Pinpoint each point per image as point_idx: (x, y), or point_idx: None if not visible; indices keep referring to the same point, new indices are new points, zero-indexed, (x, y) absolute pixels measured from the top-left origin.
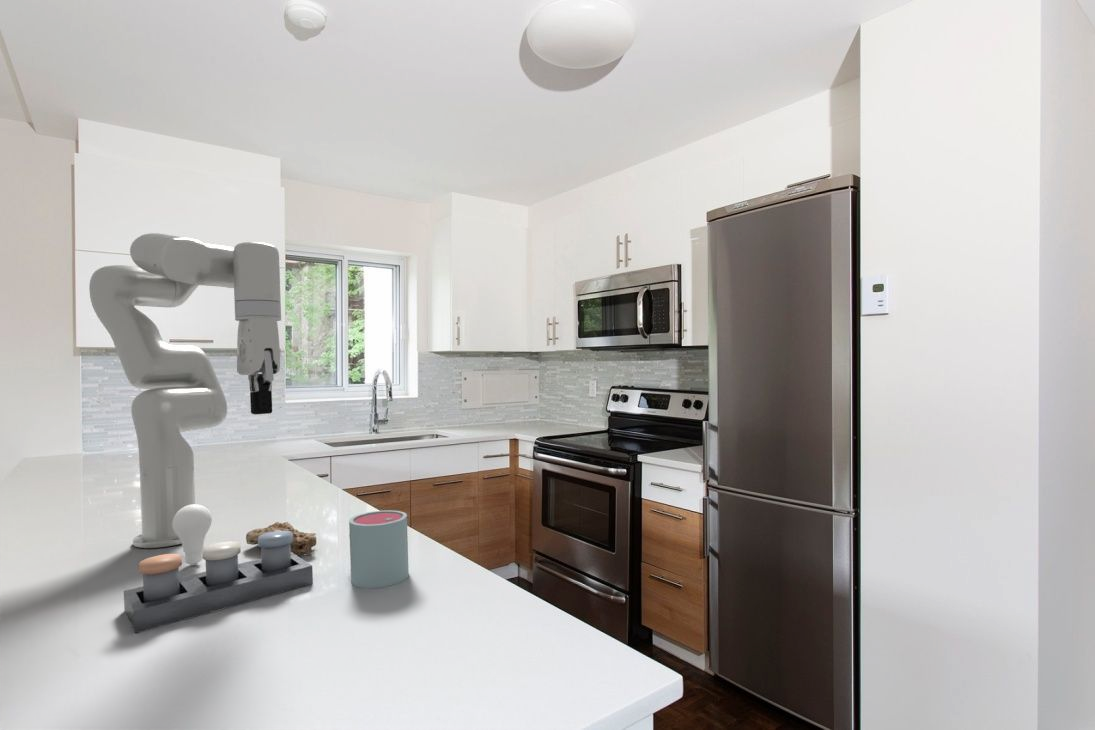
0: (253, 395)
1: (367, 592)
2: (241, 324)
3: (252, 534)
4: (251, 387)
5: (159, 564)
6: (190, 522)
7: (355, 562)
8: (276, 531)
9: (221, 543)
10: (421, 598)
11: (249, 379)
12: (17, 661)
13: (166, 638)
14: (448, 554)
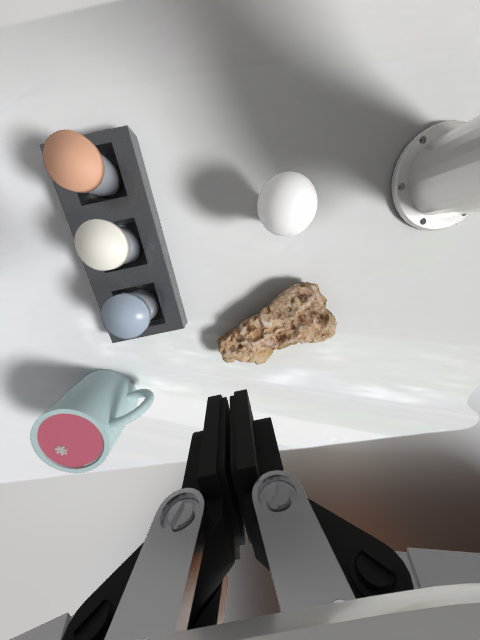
0: (201, 463)
1: (70, 377)
2: None
3: (291, 291)
4: (281, 503)
5: (46, 160)
6: (258, 201)
7: (78, 384)
8: (145, 320)
9: (119, 246)
10: (31, 413)
11: (327, 571)
12: (27, 30)
13: (28, 188)
14: (144, 464)
